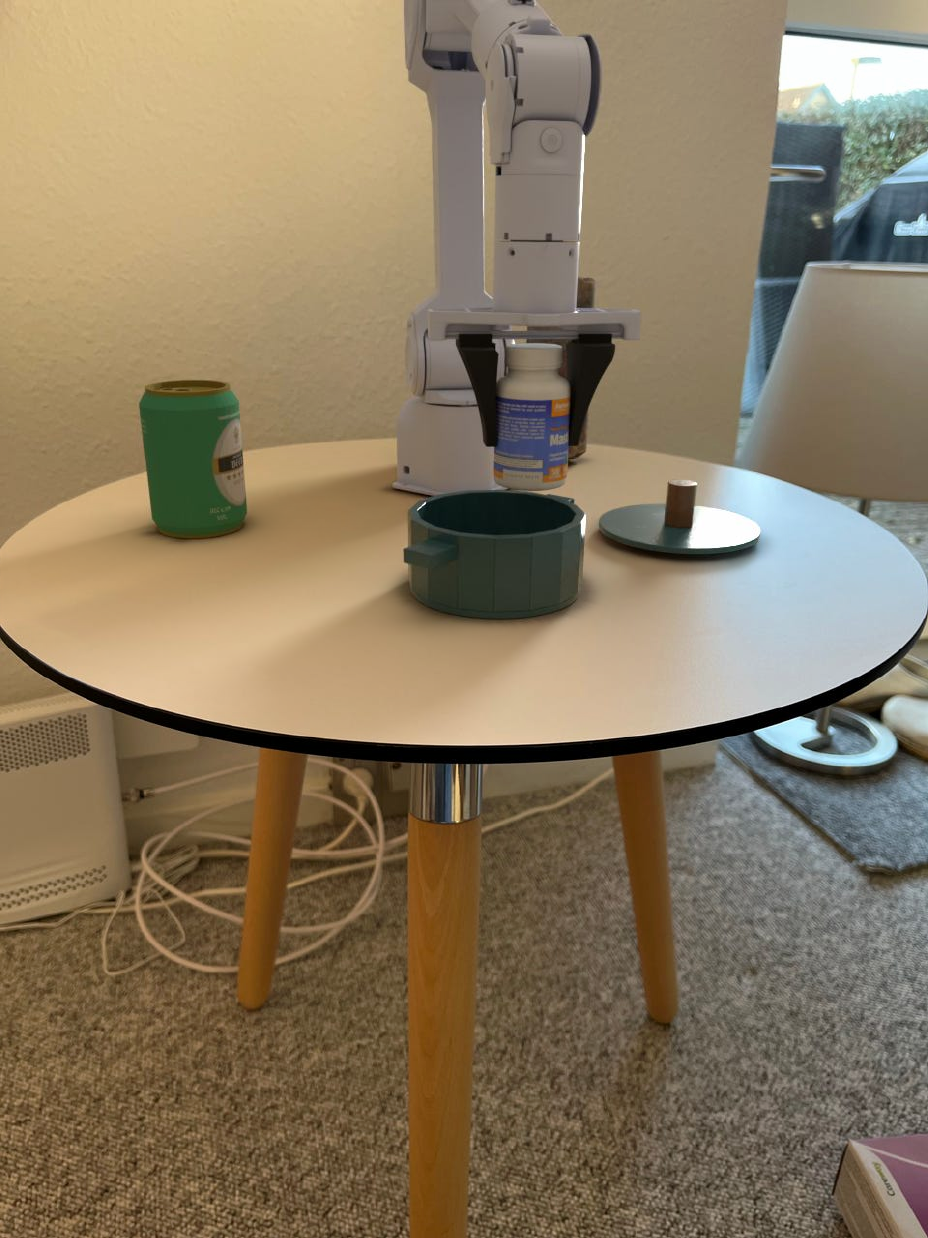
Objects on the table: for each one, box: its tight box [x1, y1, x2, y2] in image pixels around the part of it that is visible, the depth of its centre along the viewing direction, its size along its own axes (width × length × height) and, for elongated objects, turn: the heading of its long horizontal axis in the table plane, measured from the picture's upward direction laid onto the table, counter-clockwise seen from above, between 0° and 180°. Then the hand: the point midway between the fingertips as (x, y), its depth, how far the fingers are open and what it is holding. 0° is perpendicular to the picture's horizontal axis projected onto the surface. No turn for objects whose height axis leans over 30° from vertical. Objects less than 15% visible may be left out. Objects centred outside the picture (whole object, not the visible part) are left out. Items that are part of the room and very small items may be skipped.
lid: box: [598, 478, 761, 555], centre depth 83 cm, size 13×13×5 cm
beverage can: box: [138, 379, 248, 539], centre depth 83 cm, size 8×8×12 cm
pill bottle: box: [493, 342, 571, 492], centre depth 70 cm, size 5×5×10 cm
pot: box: [403, 489, 587, 620], centre depth 70 cm, size 12×18×6 cm
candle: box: [525, 276, 597, 461], centre depth 107 cm, size 8×7×20 cm
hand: (529, 443), depth 71 cm, fingers closed on pill bottle, 5 cm apart
